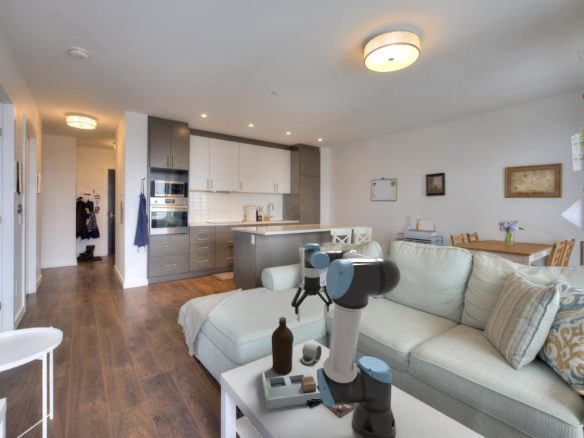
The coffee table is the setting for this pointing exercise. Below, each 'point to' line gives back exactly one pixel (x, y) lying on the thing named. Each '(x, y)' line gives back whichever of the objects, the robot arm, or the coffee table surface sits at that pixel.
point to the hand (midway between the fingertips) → (312, 319)
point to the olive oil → (282, 348)
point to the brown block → (308, 384)
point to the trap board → (286, 391)
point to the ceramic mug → (311, 352)
